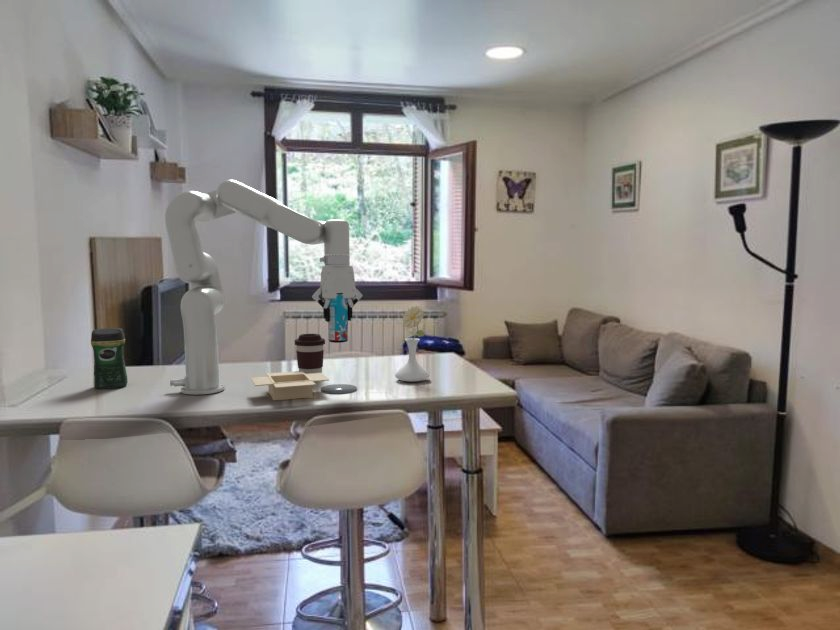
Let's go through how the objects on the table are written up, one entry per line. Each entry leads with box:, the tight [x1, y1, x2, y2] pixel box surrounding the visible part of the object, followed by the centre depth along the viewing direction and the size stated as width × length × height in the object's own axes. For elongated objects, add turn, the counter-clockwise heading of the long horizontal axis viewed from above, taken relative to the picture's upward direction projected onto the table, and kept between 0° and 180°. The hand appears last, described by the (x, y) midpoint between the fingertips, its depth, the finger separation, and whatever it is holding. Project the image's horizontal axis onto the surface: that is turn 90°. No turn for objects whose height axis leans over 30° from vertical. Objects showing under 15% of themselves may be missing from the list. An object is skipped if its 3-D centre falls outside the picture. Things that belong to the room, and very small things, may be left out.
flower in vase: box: [394, 305, 430, 383], centre depth 200 cm, size 13×11×25 cm
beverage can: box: [327, 293, 349, 344], centre depth 186 cm, size 6×6×15 cm
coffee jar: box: [90, 327, 128, 390], centre depth 193 cm, size 10×8×19 cm
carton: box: [250, 370, 330, 401], centre depth 182 cm, size 21×21×5 cm
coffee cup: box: [294, 333, 326, 374], centre depth 203 cm, size 10×10×15 cm
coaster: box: [320, 383, 358, 395], centre depth 188 cm, size 11×11×1 cm
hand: (338, 320), depth 186 cm, fingers closed on beverage can, 5 cm apart
